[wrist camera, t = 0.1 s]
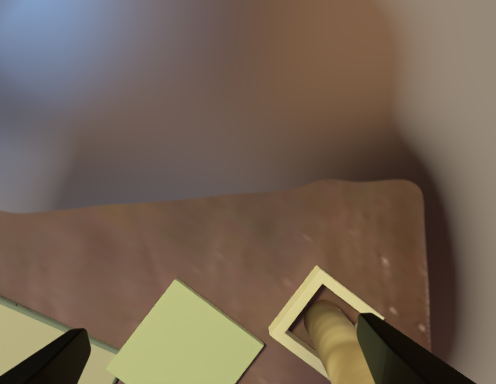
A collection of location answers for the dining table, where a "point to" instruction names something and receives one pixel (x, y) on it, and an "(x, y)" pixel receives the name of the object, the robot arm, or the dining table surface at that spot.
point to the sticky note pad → (45, 342)
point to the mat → (185, 343)
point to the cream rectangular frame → (295, 307)
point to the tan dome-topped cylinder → (336, 344)
